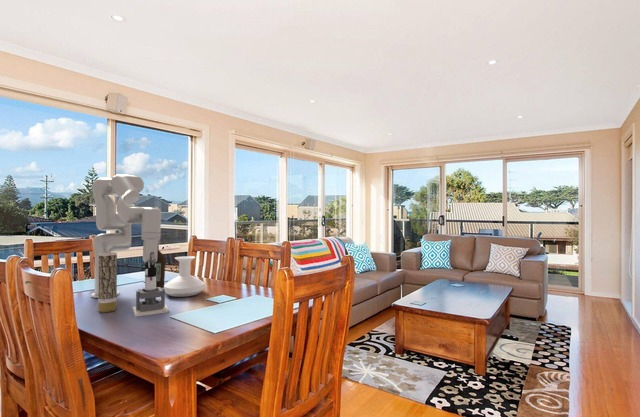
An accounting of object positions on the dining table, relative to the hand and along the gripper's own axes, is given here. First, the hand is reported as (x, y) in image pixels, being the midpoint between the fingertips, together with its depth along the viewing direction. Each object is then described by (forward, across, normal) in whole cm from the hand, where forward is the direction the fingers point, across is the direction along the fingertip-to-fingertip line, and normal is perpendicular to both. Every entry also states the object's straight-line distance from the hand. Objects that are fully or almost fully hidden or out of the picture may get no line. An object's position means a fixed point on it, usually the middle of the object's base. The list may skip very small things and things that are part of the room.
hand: (150, 274), depth 157 cm
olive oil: (+17, -46, +8) cm, 50 cm away
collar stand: (+16, +1, 0) cm, 16 cm away
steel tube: (+15, +1, 0) cm, 15 cm away
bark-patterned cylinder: (+16, -8, -16) cm, 24 cm away
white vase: (+16, -22, +19) cm, 34 cm away
